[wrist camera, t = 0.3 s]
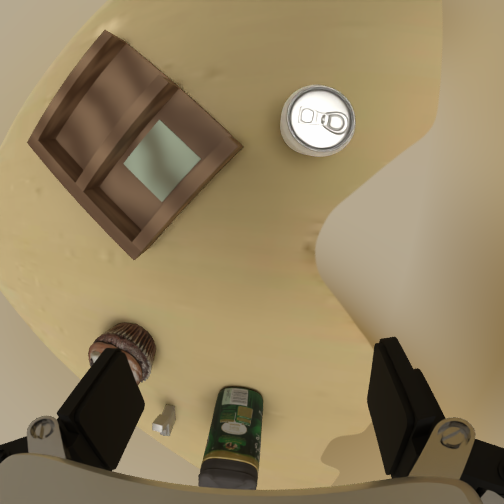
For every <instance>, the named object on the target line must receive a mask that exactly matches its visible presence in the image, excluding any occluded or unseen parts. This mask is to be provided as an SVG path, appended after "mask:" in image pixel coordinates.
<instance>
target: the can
mask: <svg viewBox="0 0 504 504" xmlns="http://www.w3.org/2000/svg"><path fill="white" fill-rule="evenodd" d="M280 130H281V135H282V137H283V139H284V141H285V143H286V144H287V145H288V146H289V147H290V148H291V149H293V150H294V151H296V152H298V153H301V154H304V155H309V156H316V157H324V156H329V155H333V154H335V153H337V152H339V151H341V150H342V149H343V148H344V147H345V146H346V145H347V144H348V143H349V142H350V140H351V138H352V136H353V134H354V130H355V114H354V110H353V108H352V105H351V104H350V102H349V101H348V99H347V98H346V97H345V96H344V95H343V94H342V93H340V92H339V91H337V90H335V89H333V88H331V87H328V86H324V85H309V86H305V87H302V88H300V89H298V90H297V91H295V92H294V93H293V94H292V95H291V96H290V97H289V98H288V99H287V101H286V102H285V104H284V107H283V109H282V113H281V121H280Z"/></svg>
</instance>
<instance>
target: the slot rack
mask: <svg viewBox="0 0 504 504" xmlns="http://www.w3.org/2000/svg"><path fill="white" fill-rule="evenodd" d="M27 143H28V144H29V146H30V147H31V148H32V149H33V151H34V152H35V153H36V154H37V155H38V157H39V158H40V159H41V160H42V162H43V163H44V164H45V165H46V166H47V167H48V169H49V170H50V171H51V172H52V173H53V175H54V176H55V177H56V178H57V179H58V180H59V181H60V183H61V184H62V185H63V186H64V187H65V188H66V189H67V191H68V192H69V193H70V194H71V195H72V196H73V197H74V198H75V199H76V201H77V202H78V203H79V204H80V205H81V206H82V207H83V208H84V209H85V210H86V211H87V213H88V214H89V215H90V216H91V217H92V218H93V219H94V220H95V221H96V222H97V223H98V224H99V225H100V226H101V227H102V228H103V229H104V231H105V232H106V233H107V234H108V235H109V236H110V237H111V238H112V239H113V240H114V241H115V242H116V243H117V244H118V245H119V246H120V247H121V248H122V249H123V250H124V251H125V252H126V253H127V254H128V255H129V256H130V257H131V258H132V259H133V260H135V259H136V258H138V257H139V256H140V255H141V254H142V253H144V252H145V251H146V250H147V249H148V248H149V247H150V246H151V245H152V244H153V243H154V242H155V241H156V239H157V238H158V237H159V236H160V235H161V234H162V233H163V231H164V230H165V229H166V228H167V227H168V226H169V225H170V223H171V222H172V221H173V220H174V219H175V218H176V217H177V216H178V215H179V214H180V212H181V211H182V210H183V209H184V208H185V207H186V206H187V205H188V204H189V203H190V201H191V200H192V199H193V198H194V197H195V196H196V195H197V194H198V193H199V192H200V191H201V190H202V189H203V188H204V187H205V185H206V184H207V183H208V182H209V181H210V180H211V179H212V178H213V177H214V176H215V175H216V174H217V173H218V172H219V171H220V170H221V169H222V168H223V167H224V166H225V165H226V164H227V163H228V162H229V161H230V160H231V159H232V158H233V157H234V156H235V155H236V154H237V153H238V152H239V151H240V150H241V149H242V148H243V146H242V145H241V144H240V143H239V142H238V141H237V140H236V139H235V138H234V137H233V136H232V135H231V134H230V133H229V132H228V131H226V130H225V129H224V128H223V127H222V126H221V125H220V124H219V123H218V122H217V121H216V120H215V119H214V118H213V117H211V116H210V115H209V114H208V113H207V112H206V111H205V110H204V109H203V108H202V107H201V106H199V105H198V104H197V103H196V102H195V101H194V100H193V99H192V98H191V97H189V96H188V95H187V94H186V93H185V92H184V91H183V90H182V89H180V88H179V87H178V86H177V85H176V84H175V83H174V82H172V81H171V80H170V79H169V78H168V77H167V76H165V75H164V74H163V73H162V72H161V71H160V70H158V69H157V68H156V67H155V66H154V65H153V64H151V63H150V62H149V61H148V60H147V59H145V58H144V57H143V56H142V55H141V54H139V53H138V52H137V51H136V50H134V49H133V48H132V47H131V46H129V45H128V44H127V43H126V42H124V41H123V40H122V39H120V38H118V37H117V36H115V35H113V34H111V33H110V32H108V31H106V30H104V31H103V33H102V34H101V35H100V36H99V37H98V38H97V40H96V41H95V42H94V43H93V44H92V46H91V47H90V48H89V49H88V51H87V52H86V53H85V54H84V56H83V57H82V58H81V60H80V61H79V62H78V64H77V65H76V66H75V68H74V69H73V70H72V72H71V73H70V74H69V76H68V77H67V79H66V80H65V81H64V83H63V84H62V86H61V87H60V89H59V90H58V92H57V93H56V95H55V96H54V98H53V99H52V101H51V102H50V104H49V106H48V107H47V109H46V110H45V112H44V114H43V115H42V117H41V119H40V120H39V122H38V124H37V126H36V127H35V129H34V131H33V133H32V135H31V136H30V138H29V140H28V142H27Z"/></svg>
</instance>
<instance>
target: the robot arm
mask: <svg viewBox="0 0 504 504" xmlns="http://www.w3.org/2000/svg"><path fill="white" fill-rule="evenodd" d="M367 403H368V408H369V411H370V415H371V418H372V422H373V425H374V430H375V433H376V437H377V441H378V445H379V449H380V453H381V457H382V461H383V465H384V469H385V473H386V475H390V474H391V477H392V479H386V480H380V481H372V482H365V483H358V484H350V485H342V486H332V487H320V488H308V489H288V490H242V489H222V488H209V487H199V486H190V485H189V486H188V485H182V484H174V483H167V482H161V481H155V480H150V479H144V478H139V477H134V476H129V475H125V474H121V473H116V472H112V470H114V469H116V467H117V465H118V463H119V461H120V459H121V457H122V455H123V452H124V450H125V448H126V446H127V444H128V442H129V439H130V438H131V435H132V433H133V431H134V429H135V427H136V425H137V423H138V421H139V418H140V416H141V414H142V412H143V410H144V406H145V403H144V400H143V397H142V395H141V392H140V390H139V387H138V385H137V383H136V380H135V378H134V375H133V372H132V370H131V367H130V364H129V362H128V359H127V356H126V354H125V353H124V352H122V350H121V349H119V348H106V349H105V350H104V351H103V352H102V353H101V355H100V356H99V357H98V359H97V360H96V361H95V362H94V364H93V365H92V366H91V368H90V369H89V370H88V372H87V373H86V374H85V375H84V377H83V378H82V379H81V381H80V382H79V383H78V385H77V386H76V387H75V389H74V390H73V391H72V393H71V394H70V396H69V397H68V398H67V400H66V401H65V402H64V404H63V405H62V407H61V408H60V409H59V411H58V412H57V415H58V416H59V418H58V419H57V420H56V419H55V418H54V417H51V416H42V417H39V418H36V419H35V420H34V421H32V422H31V424H30V425H29V427H28V429H27V436H26V437H23V438H20V439H17V440H14V441H11V442H8V443H5V444H2V445H0V504H504V448H501V447H498V446H495V445H492V444H489V443H486V442H483V441H480V440H477V439H475V430H474V428H473V427H472V425H471V424H470V423H469V422H468V421H466V420H464V419H461V418H456V417H453V418H447V419H445V417H444V415H443V412H442V411H441V409H440V407H439V405H438V402H437V401H436V399H435V397H434V395H433V393H432V391H431V389H430V387H429V385H428V383H427V381H426V379H425V377H424V376H423V374H422V372H421V371H420V369H418V368H417V369H413V368H412V366H411V364H410V362H409V360H408V358H407V356H406V354H405V352H404V351H403V349H402V347H401V345H400V343H399V341H398V339H397V338H396V337H390V338H384V339H380V342H379V343H376V344H375V346H374V354H373V362H372V369H371V376H370V383H369V390H368V396H367Z"/></svg>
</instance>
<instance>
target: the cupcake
mask: <svg viewBox="0 0 504 504" xmlns="http://www.w3.org/2000/svg"><path fill="white" fill-rule="evenodd" d="M106 348H119V349H121V350H122V352H124V353H125V354H126V356H127V359H128V362H129V364H130V367H131V370H132V372H133V375H134V378H135V380H136V383H137V385H138V384H139V383H140V382H143V380H144V381H146V379H148V377H149V376H150V373H151V369H152V363H153V360H154V356H155V352H156V346H155V344H154V341H153V338H152V337H151V335H150V334H149V333H148V331H146V330H144V329H143V328H142V327H140V326H138V325H137V324H130V323H120V324H117V325H116V326H114V327H113V328H112V329H110V330H109V331H107V332H105V333H104V334H102V335H101V336H100V337H98V338H97V339H96V340H95V341H94V343H93V344H92V345H91V346H90V348H89V353H88V355H89V362H90V366H92V365H93V364H94V362H95V361H96V360H97V359H98V357H99V356H100V355H101V353H102V352H103V351H104V350H105V349H106Z"/></svg>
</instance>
